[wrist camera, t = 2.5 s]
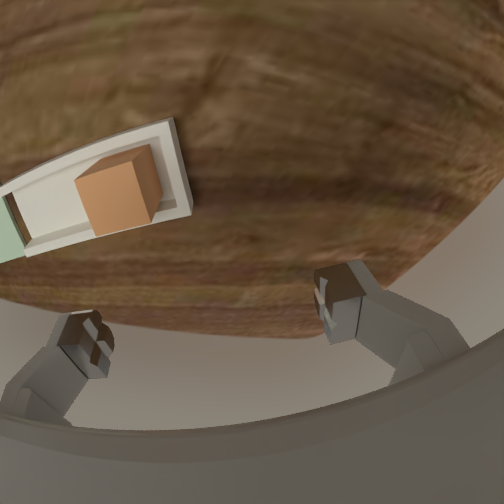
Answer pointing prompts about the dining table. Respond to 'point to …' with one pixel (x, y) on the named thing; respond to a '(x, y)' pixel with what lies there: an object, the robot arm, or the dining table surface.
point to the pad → (9, 234)
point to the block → (120, 190)
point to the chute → (67, 197)
